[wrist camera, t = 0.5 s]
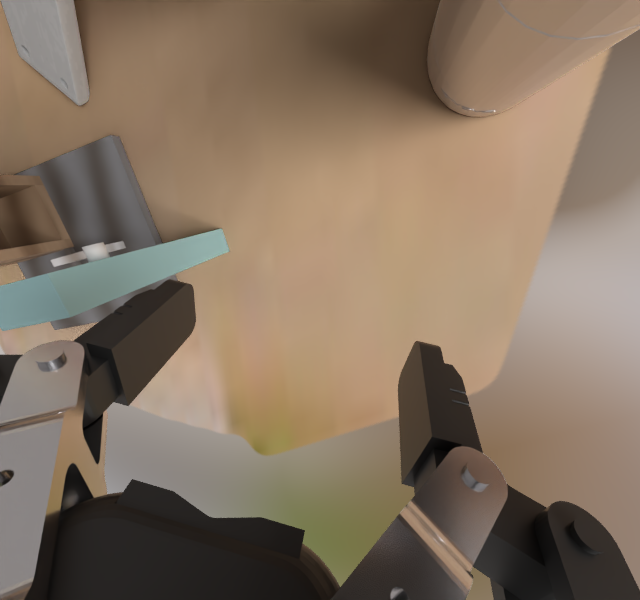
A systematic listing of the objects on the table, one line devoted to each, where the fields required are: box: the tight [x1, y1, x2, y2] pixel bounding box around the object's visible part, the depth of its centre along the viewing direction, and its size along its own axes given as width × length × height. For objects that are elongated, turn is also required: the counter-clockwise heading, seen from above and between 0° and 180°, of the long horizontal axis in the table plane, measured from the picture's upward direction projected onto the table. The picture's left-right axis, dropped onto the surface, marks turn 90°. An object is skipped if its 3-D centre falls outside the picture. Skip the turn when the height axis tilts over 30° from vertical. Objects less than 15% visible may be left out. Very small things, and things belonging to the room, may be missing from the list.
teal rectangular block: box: [0, 228, 229, 331], centre depth 25 cm, size 6×4×18 cm, turn 105°
